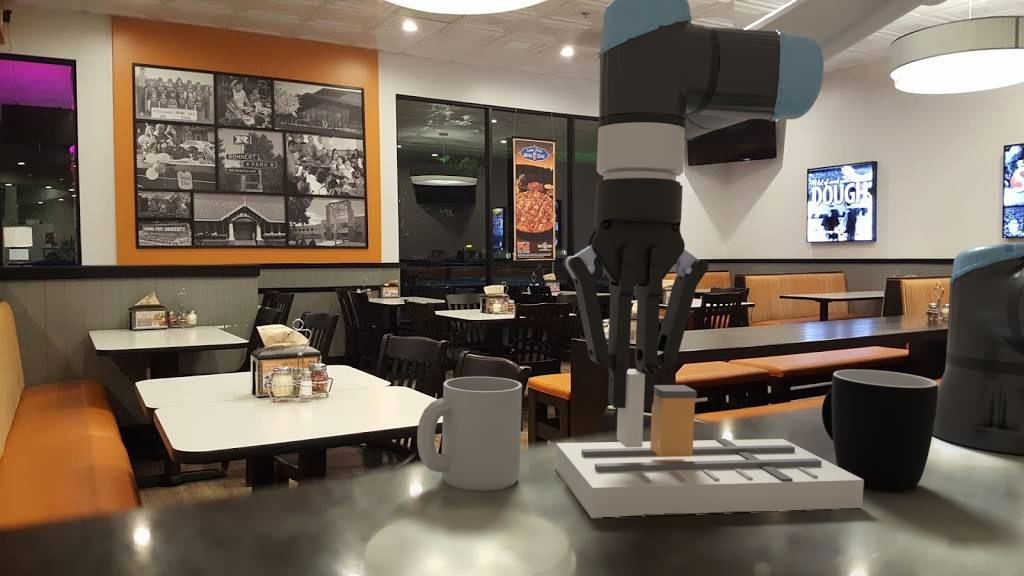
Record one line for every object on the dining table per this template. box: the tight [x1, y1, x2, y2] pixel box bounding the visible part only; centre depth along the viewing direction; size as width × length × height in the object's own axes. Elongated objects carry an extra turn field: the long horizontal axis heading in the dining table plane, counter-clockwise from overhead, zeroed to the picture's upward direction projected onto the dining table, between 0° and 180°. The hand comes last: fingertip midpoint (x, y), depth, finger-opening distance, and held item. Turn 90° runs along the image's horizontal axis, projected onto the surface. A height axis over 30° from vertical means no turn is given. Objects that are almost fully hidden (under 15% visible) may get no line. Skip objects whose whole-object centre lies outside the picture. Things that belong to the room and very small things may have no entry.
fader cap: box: [650, 384, 698, 457], centre depth 66 cm, size 3×3×6 cm
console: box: [554, 438, 864, 519], centre depth 67 cm, size 24×13×3 cm, turn 100°
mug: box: [821, 369, 939, 494], centre depth 71 cm, size 12×9×10 cm
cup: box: [416, 376, 523, 492], centre depth 67 cm, size 7×10×9 cm
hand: (629, 442), depth 66 cm, fingers closed
